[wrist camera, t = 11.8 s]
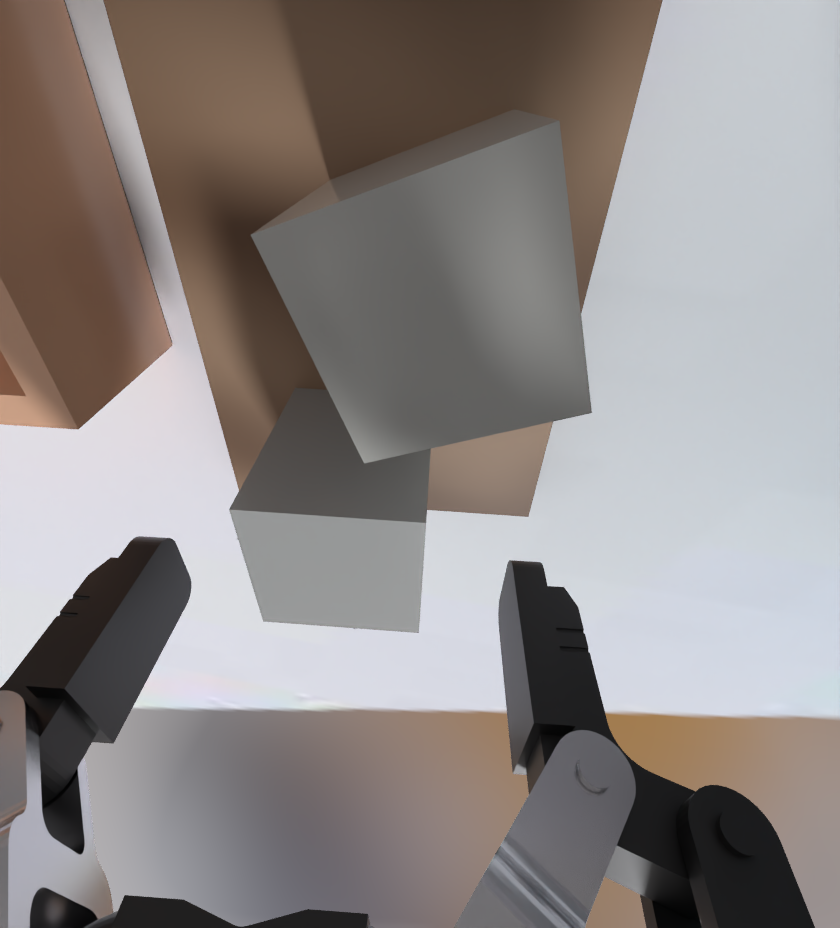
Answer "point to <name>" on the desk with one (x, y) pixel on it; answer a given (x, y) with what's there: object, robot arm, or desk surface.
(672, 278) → the desk surface
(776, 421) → the desk surface
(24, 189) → the bin
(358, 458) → the stone
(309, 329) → the pale grey cube
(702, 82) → the desk surface
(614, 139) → the lid board
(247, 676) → the desk surface
